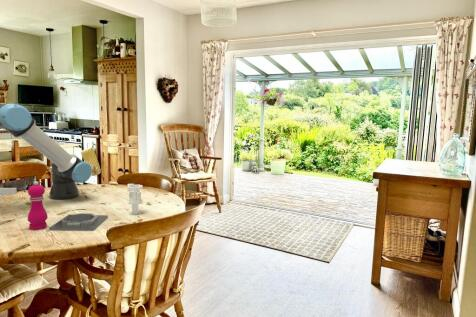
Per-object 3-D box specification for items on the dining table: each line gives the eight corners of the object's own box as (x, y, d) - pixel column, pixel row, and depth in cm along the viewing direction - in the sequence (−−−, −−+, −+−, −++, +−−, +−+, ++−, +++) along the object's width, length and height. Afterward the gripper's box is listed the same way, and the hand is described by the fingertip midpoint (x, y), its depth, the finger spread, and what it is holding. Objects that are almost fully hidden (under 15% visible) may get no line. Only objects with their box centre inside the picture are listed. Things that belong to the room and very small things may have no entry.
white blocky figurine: (128, 211, 165) (128, 182, 163) (142, 211, 166) (142, 182, 164) (127, 215, 158) (126, 185, 156) (142, 215, 160) (142, 185, 158)
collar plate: (68, 216, 153) (68, 211, 153) (107, 217, 154) (107, 212, 154) (49, 230, 136) (48, 224, 135) (93, 230, 137) (93, 225, 136)
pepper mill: (33, 224, 141) (31, 179, 139) (51, 224, 142) (49, 179, 139) (24, 230, 134) (21, 182, 132) (42, 230, 135) (40, 183, 132)
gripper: (-34, 197, 141) (21, 196, 146) (-74, 214, 117) (-6, 212, 122) (-35, 180, 140) (21, 180, 145) (-75, 193, 116) (-7, 193, 121)
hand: (9, 194), depth 134 cm, fingers open, 13 cm apart
